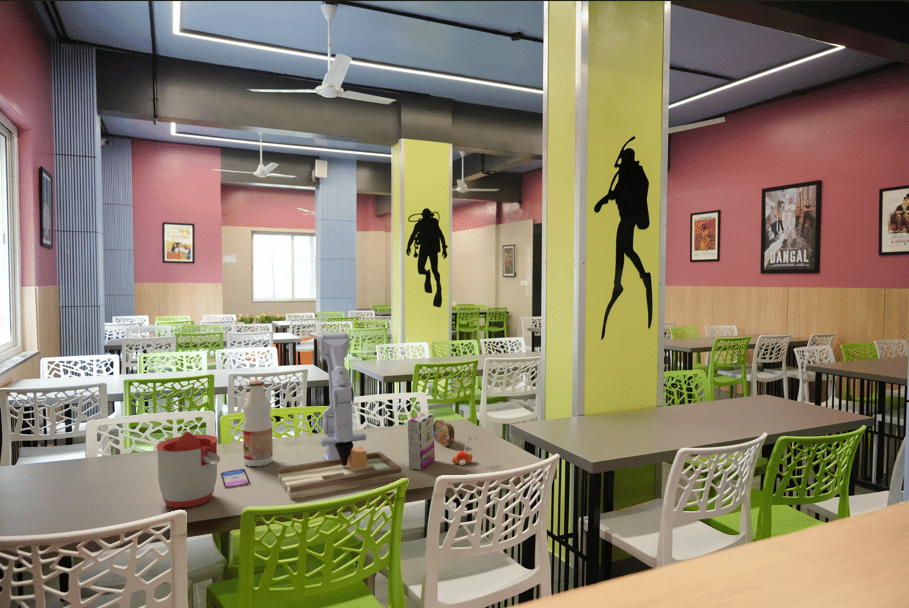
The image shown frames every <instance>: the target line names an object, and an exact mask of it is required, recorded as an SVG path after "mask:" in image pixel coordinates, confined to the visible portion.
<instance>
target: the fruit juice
mask: <svg viewBox="0 0 909 608" xmlns="http://www.w3.org/2000/svg"><path fill="white" fill-rule="evenodd" d="M248 386H249V394H248V396H247V400H246V401H245V402H244V404H243V405H242V406H243V408H242V412H243V415H244V418H243V419H244V420H243V422H242V437H243V441H242V442H243V445H242V446H243V464H244V465H245V466H246V465H248V466H247V467H250V466H258V467H263V465H264V466H267V465H269V463H270V464H271V463H273V460H274V459H273V458H274V457H273V455H274V454H273V453H274V452H273V449H274V448H273V447H274V446H273V421H272V417H271V411H272V403H271V401H270V400H269V398H267V395H266V393H265V390H264V387H265V381H264V380H254V381H250V382H249V383H248Z"/></svg>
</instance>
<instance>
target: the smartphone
mask: <svg viewBox="0 0 909 608" xmlns="http://www.w3.org/2000/svg"><path fill="white" fill-rule="evenodd" d="M246 471H247V470H246V469H244V468H239V469H234V470H229V471H223V472H221V473H220V477H221V476H222V479H223V482H222V484H224V485H223V488H224V487H225V488H229V489H231V488H230V487H235V488H238V487H237V486H241V487H244V486H243V485H247V486H249V485H248V484H250V485H251V481H250V478H249V476H248V473H247V472H246ZM222 479H221V480H222ZM225 488H224V489H225Z"/></svg>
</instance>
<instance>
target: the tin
mask: <svg viewBox="0 0 909 608" xmlns="http://www.w3.org/2000/svg"><path fill="white" fill-rule="evenodd" d="M455 433H456V432H455V428H454V426H453V425H452V424H451V423H449V422H447V421H446V420H443V419H435V420H434V441H435V442H436V443H438V444H440V445H442V446H443V447H444V448H445V447H451V446H453V445H454V443H455Z"/></svg>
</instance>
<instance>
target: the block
mask: <svg viewBox="0 0 909 608" xmlns="http://www.w3.org/2000/svg"><path fill="white" fill-rule="evenodd" d="M367 454H368V452H367V450H366V449H365V448H364V447H362V446H360V447H355V448H354V447H353V448H352V450H351V452H350V454H349V457H348V461H347V465H348V466H349V467H350V468H351V469H354V468H360V467H367Z"/></svg>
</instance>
